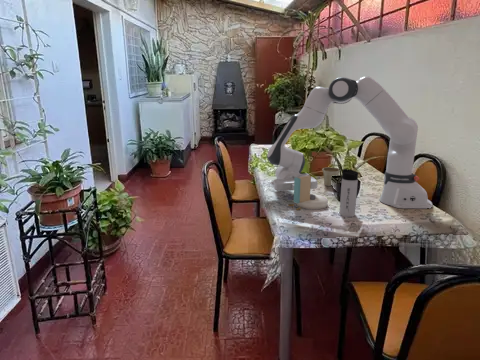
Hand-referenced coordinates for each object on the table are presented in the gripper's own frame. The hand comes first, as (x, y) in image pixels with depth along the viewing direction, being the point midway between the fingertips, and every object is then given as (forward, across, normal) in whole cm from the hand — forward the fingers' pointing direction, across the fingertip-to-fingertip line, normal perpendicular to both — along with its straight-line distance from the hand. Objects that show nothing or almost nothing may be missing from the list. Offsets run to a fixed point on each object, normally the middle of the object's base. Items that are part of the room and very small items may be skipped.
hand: (300, 189), depth 163 cm
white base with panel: (0, +5, +8) cm, 9 cm away
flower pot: (-33, +28, +9) cm, 44 cm away
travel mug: (+13, +16, +9) cm, 23 cm away
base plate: (-1, +6, +9) cm, 11 cm away
